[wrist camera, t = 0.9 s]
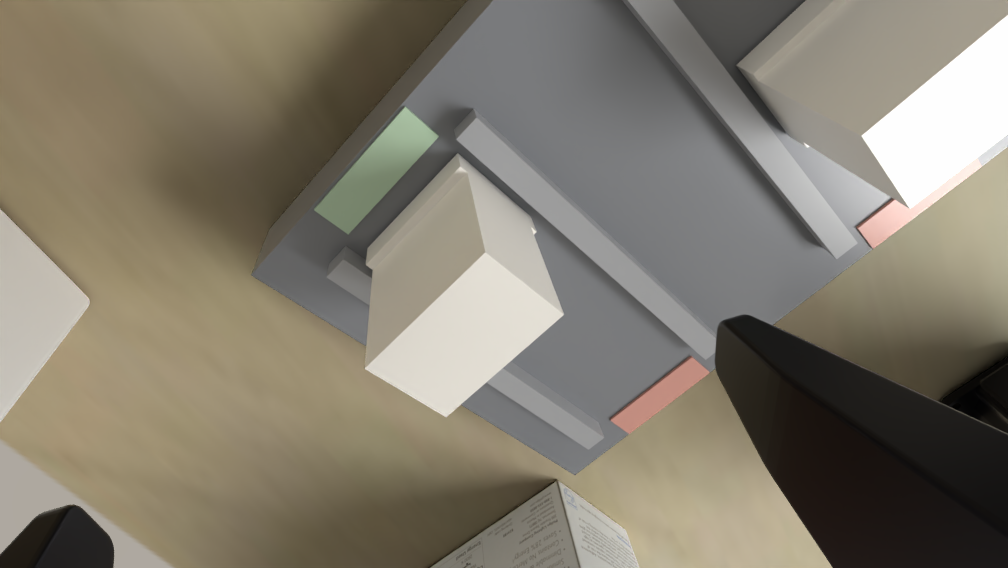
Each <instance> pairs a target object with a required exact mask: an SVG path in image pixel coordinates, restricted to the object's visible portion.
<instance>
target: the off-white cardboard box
mask: <svg viewBox="0 0 1008 568" xmlns="http://www.w3.org/2000/svg"><path fill="white" fill-rule="evenodd" d="M89 304H90V300H89V298H88V297H87V296H86V295H85V294H84V293H83V292H82V291H81V290H80V289H79V288H78V287H77V285H76V284H75V283H74V282H73V281H72V280H71V279H70V278H69V277H68V276H67V275H66V274H65V273H64V272H63V271H62V270H61V269H60V268H59V267H58V266H57V265H56V264H55V263H54V262H53V261H52V260H51V259H50V258H49V257H48V256H47V255H46V254H45V253H44V252H43V251H42V250H41V249H40V248H39V247H38V246H37V245H36V244H35V243H34V242H33V241H32V240H31V239H30V238H29V237H28V236H27V235H26V234H25V233H24V232H23V231H22V230H21V229H20V228H19V227H18V226H17V225H16V224H15V223H14V222H13V221H12V220H11V219H10V218H9V217H8V216H7V215H6V214H5V213H4V212H3V211H2V210H1V209H0V422H1V421H2V420H3V418H4V417H5V416H6V414H7V413H8V412H9V410H10V409H11V408H12V406H13V405H14V404H15V402H16V401H17V400H18V399H19V397H20V396H21V395H22V393H23V392H24V391H25V389H26V388H27V387H28V385H29V384H30V383H31V381H32V380H33V379H34V377H35V376H36V375H37V374H38V372H39V371H40V370H41V368H42V367H43V366H44V364H45V363H46V362H47V360H48V359H49V358H50V356H51V355H52V354H53V353H54V351H55V350H56V349H57V347H58V346H59V345H60V343H61V342H62V341H63V339H64V338H65V337H66V335H67V334H68V333H69V331H70V330H71V329H72V328H73V326H74V325H75V324H76V322H77V321H78V320H79V318H80V317H81V316H82V314H83V313H84V312H85V310H86V309H87V308H88V306H89Z"/></svg>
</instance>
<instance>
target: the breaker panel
mask: <svg viewBox="0 0 1008 568" xmlns="http://www.w3.org/2000/svg"><path fill="white" fill-rule="evenodd" d="M805 1H806V0H467V2H466V3H465V4H464V5H463V6H462V7H461V9H460V10H459V11H458V12H457V13H456V14H455V15H454V17H453V18H452V19H451V20H450V21H449V22H448V24H447V25H446V26H445V27H444V28H443V29H442V30H441V32H440V33H439V34H438V35H437V36H436V37H435V39H434V40H433V41H432V42H431V43H430V44H429V45H428V47H427V48H426V49H425V50H424V51H423V52H422V54H421V55H420V56H419V57H418V58H417V59H416V60H415V62H414V63H413V64H412V65H411V66H410V67H409V69H408V70H407V71H406V72H405V73H404V74H403V75H402V77H401V78H400V79H399V80H398V81H397V82H396V84H395V85H394V86H393V87H392V88H391V89H390V90H389V92H388V93H387V94H386V95H385V96H384V97H383V99H382V100H381V101H380V102H379V103H378V104H377V105H376V107H375V108H374V109H373V110H372V111H371V112H370V114H369V115H368V116H367V117H366V118H365V119H364V121H363V122H362V123H361V124H360V125H359V126H358V127H357V129H356V130H355V131H354V132H353V133H352V134H351V136H350V137H349V138H348V139H347V140H346V141H345V142H344V144H343V145H342V146H341V147H340V148H339V149H338V151H337V152H336V153H335V154H334V155H333V156H332V157H331V159H330V160H329V161H328V162H327V163H326V164H325V166H324V167H323V168H322V169H321V170H320V171H319V172H318V174H317V175H316V176H315V177H314V178H313V179H312V181H311V182H310V183H309V184H308V185H307V186H306V187H305V189H304V190H303V191H302V192H301V193H300V194H299V196H298V197H297V198H296V199H295V200H294V201H293V202H292V204H291V205H290V206H289V207H288V208H287V209H286V211H285V212H284V213H283V214H282V215H281V216H280V217H279V219H278V220H277V221H276V222H275V223H274V224H273V226H272V227H271V228H270V229H269V231H268V234H267V236H266V239H265V241H264V244H263V246H262V249H261V251H260V254H259V256H258V259H257V261H256V264H255V266H254V269H253V271H252V274H251V275H252V276H253V277H255V278H256V279H258V280H260V281H261V282H263V283H265V284H266V285H268V286H269V287H271V288H273V289H274V290H276V291H277V292H279V293H281V294H282V295H284V296H286V297H287V298H289V299H290V300H292V301H294V302H295V303H297V304H299V305H300V306H302V307H303V308H305V309H307V310H308V311H310V312H311V313H313V314H315V315H316V316H318V317H320V318H321V319H323V320H324V321H326V322H328V323H329V324H331V325H333V326H334V327H336V328H337V329H339V330H341V331H342V332H344V333H345V334H347V335H349V336H350V337H352V338H354V339H355V340H357V341H358V342H360V343H362V344H363V345H365V346H366V345H367V332H368V320H369V308H370V296H371V284H372V272H373V270H372V269H371V268H369V267H368V266H366V257H367V248H368V247H369V246H370V245H371V244H372V243H373V242H374V241H375V240H376V239H377V238H378V236H379V235H380V234H381V233H382V232H383V231H384V230H385V229H386V228H387V227H388V226H389V225H390V224H391V223H392V222H393V221H394V220H395V219H396V218H397V216H398V215H399V214H400V213H401V212H402V211H403V210H404V209H405V208H406V207H407V206H408V205H409V204H410V203H411V202H412V201H413V200H414V199H415V197H416V196H417V195H418V194H419V193H420V192H421V191H422V190H423V189H424V188H425V187H426V186H427V185H428V184H429V183H430V182H431V181H432V180H433V179H434V177H435V176H436V175H437V174H438V173H439V172H440V171H441V170H442V169H443V168H444V167H445V166H446V165H447V164H448V163H449V162H450V161H451V160H452V159H453V157H454V156H455V155H456V154H457V153H458V154H459V155H461V156H462V157H463V158H464V159H465V160H466V161H467V162H469V163H470V164H471V165H472V166H473V167H474V168H476V169H477V170H478V171H479V172H480V173H481V174H482V175H484V176H485V177H486V178H487V179H488V180H489V181H490V182H492V183H493V184H494V185H495V186H496V187H497V188H498V189H500V190H501V191H502V192H503V193H504V194H505V195H507V196H508V197H509V198H510V199H511V200H512V201H513V202H515V203H516V204H517V205H518V206H519V207H520V208H521V209H523V210H524V211H525V212H526V213H527V214H528V215H529V216H531V219H532V221H533V224H534V226H535V229H536V231H537V232H536V233H535V234H534V237H535V239H536V242H537V244H538V247H539V250H540V252H541V255H542V258H543V260H544V263H545V266H546V268H547V271H548V273H549V276H550V279H551V281H552V284H553V287H554V289H555V292H556V295H557V297H558V300H559V302H560V305H561V308H562V310H563V313H564V315H563V316H562V317H561V318H560V319H559V320H557V321H556V322H555V323H554V324H553V325H552V326H550V327H549V328H548V329H547V330H546V331H545V332H544V333H542V334H541V335H540V336H539V337H538V338H537V339H536V340H534V341H533V342H532V343H531V344H530V345H529V346H528V347H526V348H525V349H524V350H523V351H522V352H521V353H519V354H518V355H517V356H516V357H515V358H514V359H513V360H511V361H510V362H509V363H508V364H507V365H506V366H505V367H503V368H502V369H501V370H500V371H499V372H498V373H497V374H495V375H494V376H493V377H492V378H491V379H490V380H488V381H487V382H486V383H485V384H484V385H483V386H482V387H480V388H479V389H478V390H477V391H476V392H475V393H474V394H472V395H471V396H470V397H469V398H468V399H467V400H465V401H464V402H463V403H462V404H461V405H462V406H464V407H465V408H467V409H468V410H470V411H472V412H473V413H475V414H477V415H478V416H480V417H481V418H483V419H485V420H486V421H488V422H489V423H491V424H493V425H494V426H496V427H498V428H499V429H501V430H502V431H504V432H506V433H507V434H509V435H511V436H512V437H514V438H515V439H517V440H519V441H520V442H522V443H523V444H525V445H527V446H528V447H530V448H532V449H533V450H535V451H536V452H538V453H540V454H541V455H543V456H545V457H546V458H548V459H549V460H551V461H553V462H554V463H556V464H557V465H559V466H561V467H562V468H564V469H566V470H567V471H569V472H570V473H572V474H574V475H576V474H577V473H578V472H580V471H581V470H582V469H583V468H585V467H586V466H587V465H589V464H590V463H591V462H593V461H594V460H595V459H597V458H598V457H599V456H601V455H602V454H603V453H605V452H606V451H607V450H609V449H610V448H611V447H613V446H614V445H615V444H616V443H618V442H619V441H620V440H622V439H623V438H624V437H626V436H627V435H628V434H630V433H631V432H633V431H634V430H635V429H636V428H638V427H639V426H640V425H642V424H643V423H644V422H646V421H647V420H648V419H650V418H651V417H652V416H654V415H655V414H656V413H658V412H659V411H660V410H662V409H663V408H664V407H666V406H667V405H668V404H669V403H671V402H672V401H673V400H675V399H676V398H677V397H679V396H680V395H681V394H683V393H684V392H685V391H687V390H688V389H689V388H691V387H692V386H693V385H695V384H696V383H697V382H699V381H700V380H701V379H702V378H704V377H705V376H706V375H708V374H709V373H710V372H711V371H713V370H714V369H715V348H716V335H717V327H718V324H719V323H720V322H721V321H722V320H725V319H728V318H732V317H735V316H739V315H743V314H747V315H751V316H753V317H756V318H758V319H760V320H762V321H764V322H766V323H769V324H771V325H773V324H775V323H776V322H777V321H779V320H780V319H781V318H783V317H784V316H785V315H787V314H788V313H789V312H791V311H792V310H793V309H795V308H796V307H797V306H798V305H800V304H801V303H802V302H804V301H805V300H806V299H808V298H809V297H810V296H812V295H813V294H814V293H816V292H817V291H818V290H820V289H821V288H822V287H824V286H825V285H826V284H828V283H829V282H830V281H831V280H833V279H834V278H835V277H837V276H838V275H839V274H841V273H842V272H843V271H845V270H846V269H847V268H849V267H850V266H851V265H853V264H854V263H855V262H857V261H858V260H859V259H860V258H862V257H863V256H864V255H866V254H867V253H868V252H870V251H871V250H872V249H874V248H875V247H877V246H878V245H879V244H881V243H882V242H883V241H885V240H886V239H887V238H888V237H890V236H891V235H892V234H894V233H895V232H896V231H898V230H899V229H900V228H902V227H903V226H904V225H906V224H907V223H908V222H910V221H911V220H912V219H914V218H915V217H916V216H918V215H919V214H920V213H921V212H923V211H924V210H925V209H927V208H928V207H929V206H931V205H932V204H933V203H935V202H936V201H937V200H939V199H940V198H941V197H943V196H944V195H945V194H947V193H948V192H949V191H950V190H952V189H953V188H954V187H956V186H957V185H958V184H960V183H961V182H962V181H964V180H965V179H966V178H968V177H969V176H970V175H972V174H973V173H974V172H976V171H977V170H978V169H980V168H981V167H982V166H983V165H984V164H986V163H987V162H988V161H990V160H991V159H992V158H994V157H995V156H996V155H998V154H999V153H1000V152H1002V151H1003V150H1004V149H1006V148H1007V147H1008V135H1006V136H1005V137H1004V138H1003V139H1001V140H1000V141H999V142H997V143H996V144H995V145H993V146H992V147H991V148H989V149H988V150H987V151H986V152H984V153H983V154H982V155H980V156H979V157H978V158H976V159H975V160H974V161H972V162H971V163H970V164H969V165H967V166H966V167H965V168H963V169H962V170H961V171H959V172H958V173H957V174H955V175H954V176H953V177H951V178H950V179H949V180H948V181H946V182H945V183H944V184H942V185H941V186H940V187H938V188H937V189H936V190H934V191H933V192H932V193H931V194H929V195H928V196H927V197H925V198H924V199H923V200H921V201H920V202H919V203H917V204H916V205H915V206H914V207H912V208H911V209H909V208H907V207H906V206H904V205H903V204H901V203H899V202H898V201H896V200H895V199H893V198H891V197H890V196H888V195H887V194H885V193H883V192H882V191H880V190H879V189H877V188H875V187H874V186H872V185H871V184H869V183H867V182H866V181H864V180H863V179H861V178H860V177H858V176H856V175H855V174H853V173H852V172H850V171H848V170H847V169H845V168H844V167H842V166H840V165H839V164H837V163H836V162H834V161H832V160H831V159H829V158H828V157H826V156H824V155H823V154H821V153H820V152H818V151H816V150H815V149H813V148H812V147H810V146H809V147H808V148H807V147H805V146H804V145H802V144H800V143H799V142H797V141H796V140H794V139H793V138H791V137H789V135H788V134H787V133H786V131H785V130H784V129H783V127H782V126H781V125H780V123H779V122H778V121H777V119H776V118H775V117H774V115H773V114H772V113H771V111H770V110H769V109H768V107H767V106H766V105H765V103H764V102H763V101H762V99H761V98H760V97H759V95H758V94H757V93H756V91H755V90H754V89H753V87H752V86H751V85H750V83H749V82H748V81H747V79H746V78H745V77H744V75H743V74H742V73H741V71H740V70H739V69H738V67H737V66H736V65H737V64H738V63H739V62H740V61H741V60H742V59H743V58H744V57H745V56H747V55H748V54H749V53H750V52H751V51H752V50H753V49H754V48H755V47H756V46H757V45H758V44H759V43H760V42H762V41H763V40H764V39H765V38H766V37H767V36H768V35H769V34H770V33H771V32H772V31H773V30H774V29H776V28H777V27H778V26H779V25H780V24H781V23H782V22H783V21H784V20H785V19H786V18H787V17H788V16H790V15H791V14H792V13H793V12H794V11H795V10H796V9H797V8H798V7H799V6H800V5H801V4H802V3H804V2H805Z"/></svg>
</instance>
